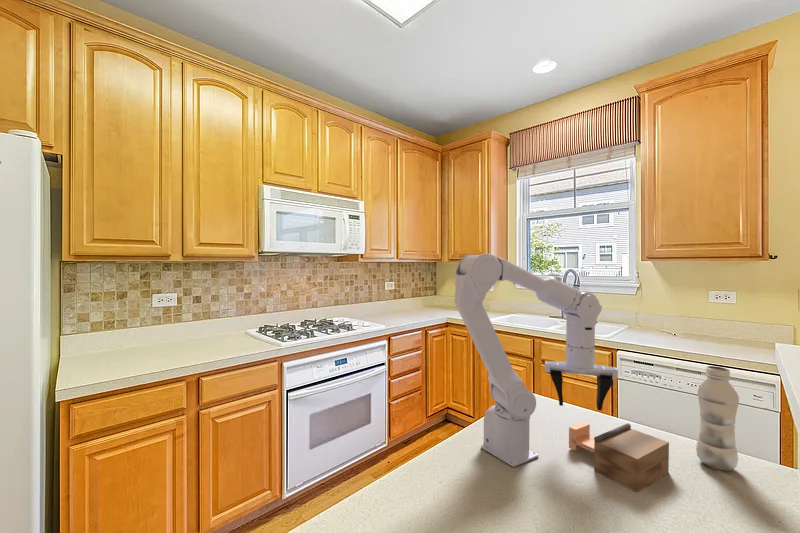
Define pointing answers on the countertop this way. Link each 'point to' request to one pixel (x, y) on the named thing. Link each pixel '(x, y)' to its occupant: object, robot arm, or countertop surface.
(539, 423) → the countertop surface
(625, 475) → the dispenser
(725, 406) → the plastic bottle
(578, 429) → the peach l-shaped bracket
